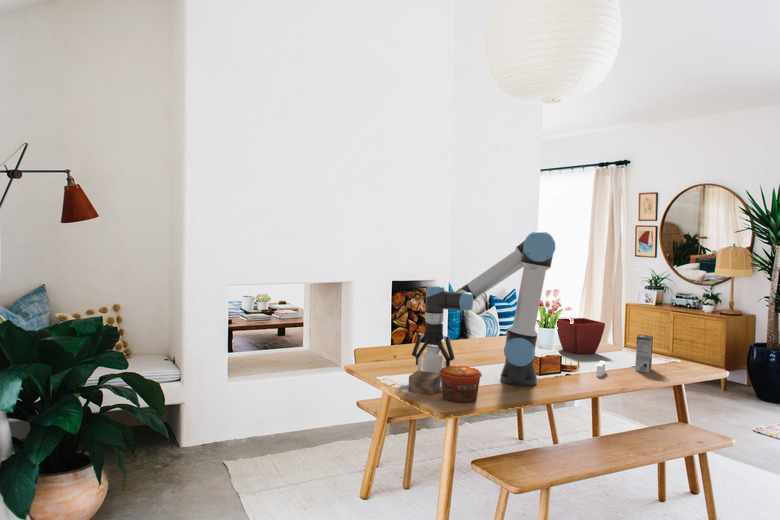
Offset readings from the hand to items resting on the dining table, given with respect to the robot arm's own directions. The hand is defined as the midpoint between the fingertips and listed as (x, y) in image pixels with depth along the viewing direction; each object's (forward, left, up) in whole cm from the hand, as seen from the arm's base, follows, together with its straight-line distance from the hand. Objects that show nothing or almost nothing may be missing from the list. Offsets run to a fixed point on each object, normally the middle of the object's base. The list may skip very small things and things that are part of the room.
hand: (432, 374), depth 234 cm
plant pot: (-53, -97, -3) cm, 111 cm away
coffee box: (-84, -68, -3) cm, 108 cm away
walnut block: (-1, +13, -3) cm, 13 cm away
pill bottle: (0, 0, -3) cm, 3 cm away
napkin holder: (-65, -49, -4) cm, 82 cm away
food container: (-16, +17, -3) cm, 24 cm away
